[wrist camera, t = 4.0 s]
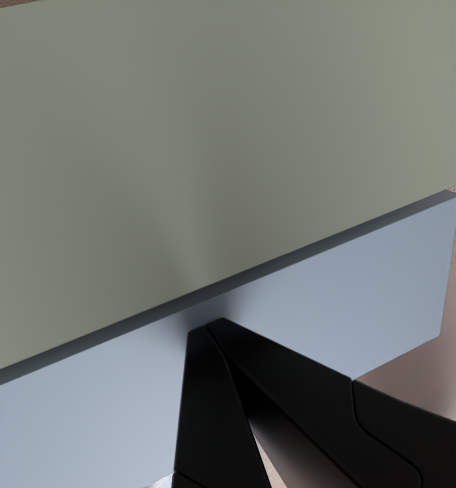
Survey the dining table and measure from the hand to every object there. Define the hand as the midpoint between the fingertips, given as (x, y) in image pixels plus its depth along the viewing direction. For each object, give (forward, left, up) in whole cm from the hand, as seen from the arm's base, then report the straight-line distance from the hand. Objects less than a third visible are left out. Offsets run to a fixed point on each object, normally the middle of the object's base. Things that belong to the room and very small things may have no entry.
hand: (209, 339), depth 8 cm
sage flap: (0, -4, -1) cm, 4 cm away
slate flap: (0, +1, -1) cm, 2 cm away
